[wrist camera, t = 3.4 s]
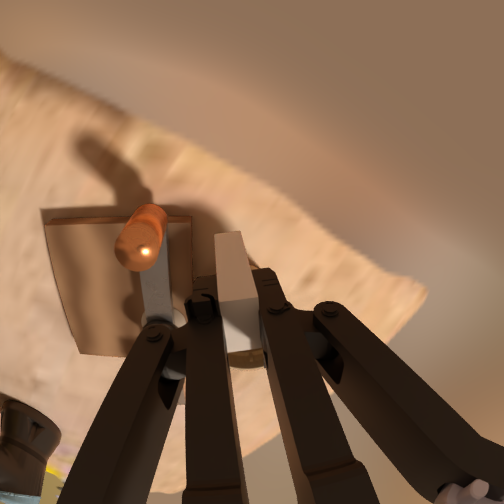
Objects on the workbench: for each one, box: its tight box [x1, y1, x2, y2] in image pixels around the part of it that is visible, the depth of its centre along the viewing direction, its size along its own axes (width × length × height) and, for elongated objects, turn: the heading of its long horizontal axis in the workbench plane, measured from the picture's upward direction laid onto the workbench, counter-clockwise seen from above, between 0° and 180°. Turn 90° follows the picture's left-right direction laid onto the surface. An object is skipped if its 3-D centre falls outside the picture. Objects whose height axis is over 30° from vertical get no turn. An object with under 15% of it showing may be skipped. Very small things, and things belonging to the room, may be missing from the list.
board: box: [44, 216, 193, 357], centre depth 31 cm, size 16×18×2 cm
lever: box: [114, 204, 186, 405], centre depth 27 cm, size 23×5×8 cm, turn 176°
